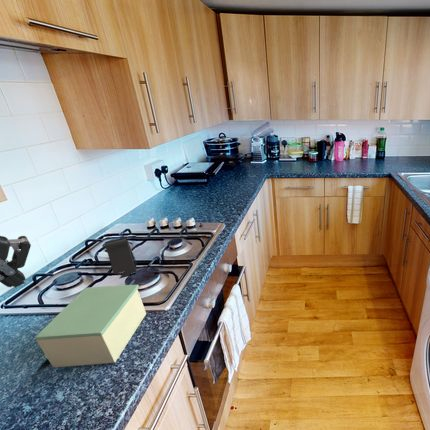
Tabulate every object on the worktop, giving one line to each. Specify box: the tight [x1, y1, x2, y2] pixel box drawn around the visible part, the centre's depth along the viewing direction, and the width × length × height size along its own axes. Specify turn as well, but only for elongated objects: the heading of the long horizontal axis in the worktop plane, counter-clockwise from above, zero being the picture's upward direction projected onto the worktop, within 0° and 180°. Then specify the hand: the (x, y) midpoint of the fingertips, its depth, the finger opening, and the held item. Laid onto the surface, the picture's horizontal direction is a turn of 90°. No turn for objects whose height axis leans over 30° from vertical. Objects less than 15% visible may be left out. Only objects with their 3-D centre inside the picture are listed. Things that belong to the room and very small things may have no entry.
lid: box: [34, 284, 140, 341], centre depth 70 cm, size 16×14×1 cm
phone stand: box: [104, 236, 137, 279], centre depth 97 cm, size 9×6×12 cm, turn 31°
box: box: [36, 288, 147, 369], centre depth 71 cm, size 16×14×9 cm
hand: (18, 282), depth 57 cm, fingers closed
